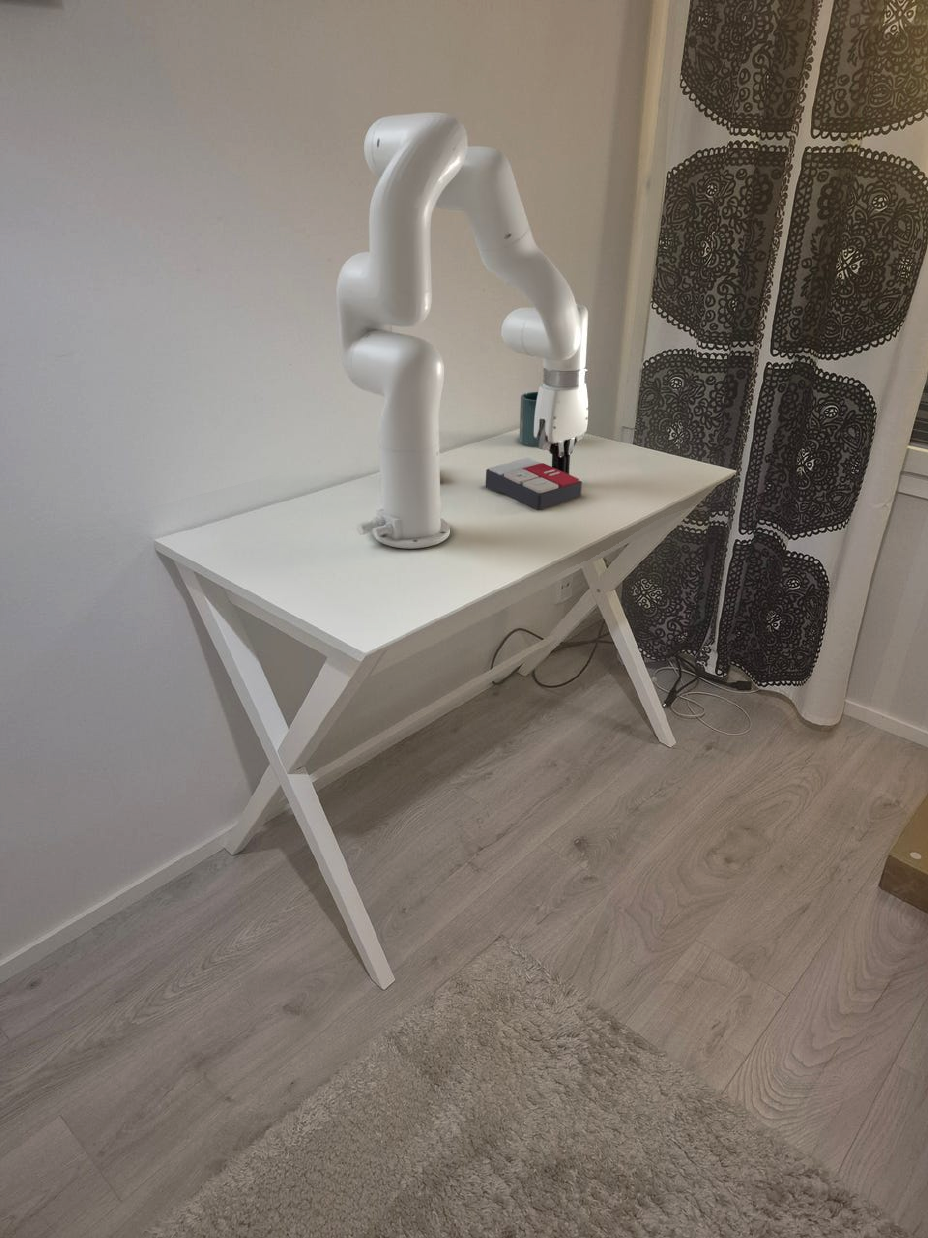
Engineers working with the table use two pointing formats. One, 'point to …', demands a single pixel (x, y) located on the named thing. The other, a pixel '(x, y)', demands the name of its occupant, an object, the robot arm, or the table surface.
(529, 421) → the pen pot
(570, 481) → the button box
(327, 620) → the table surface
